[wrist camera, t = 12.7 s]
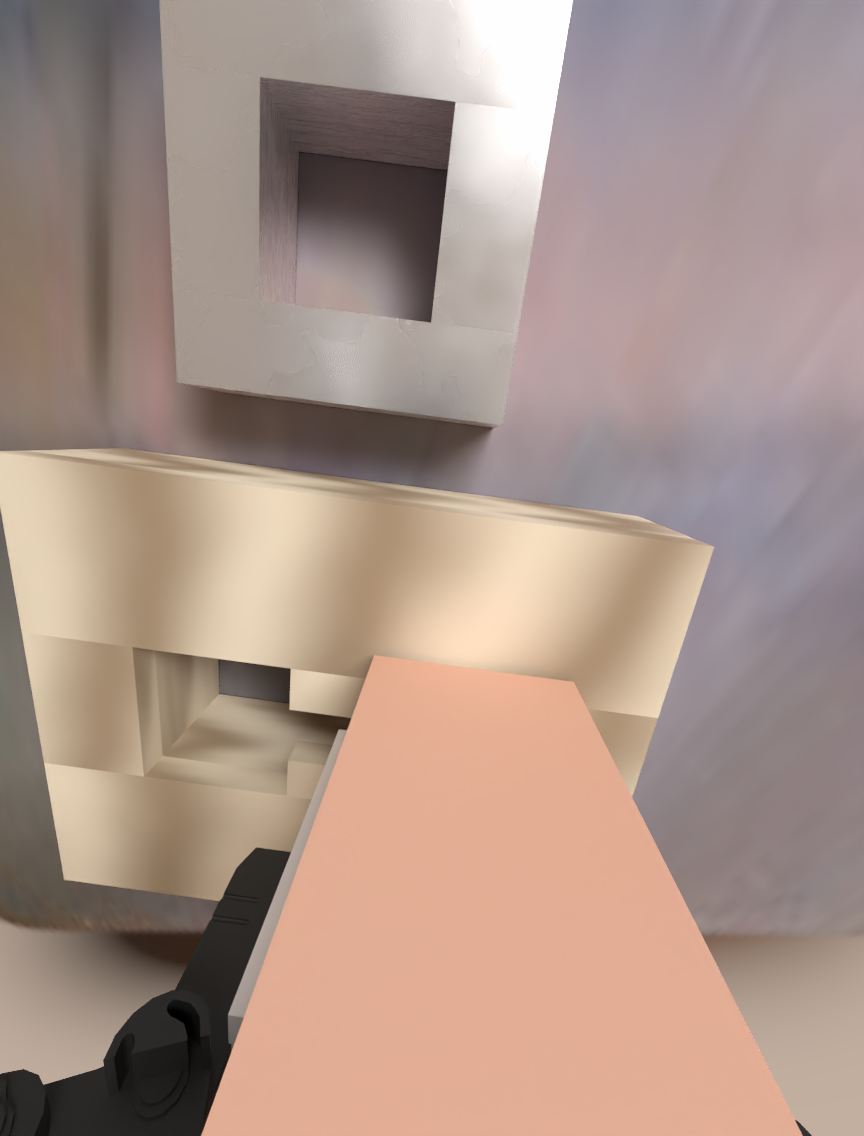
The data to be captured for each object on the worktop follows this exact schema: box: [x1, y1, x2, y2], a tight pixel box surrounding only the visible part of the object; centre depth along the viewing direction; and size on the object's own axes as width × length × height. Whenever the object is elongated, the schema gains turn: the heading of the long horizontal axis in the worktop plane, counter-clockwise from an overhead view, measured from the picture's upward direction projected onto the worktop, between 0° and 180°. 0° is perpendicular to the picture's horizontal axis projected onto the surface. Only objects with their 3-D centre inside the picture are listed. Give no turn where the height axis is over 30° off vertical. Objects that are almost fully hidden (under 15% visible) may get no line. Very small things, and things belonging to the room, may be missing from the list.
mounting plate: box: [0, 448, 714, 901], centre depth 16 cm, size 20×16×5 cm
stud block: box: [201, 655, 803, 1136], centre depth 10 cm, size 6×7×14 cm
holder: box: [159, 0, 573, 428], centre depth 13 cm, size 10×10×3 cm
